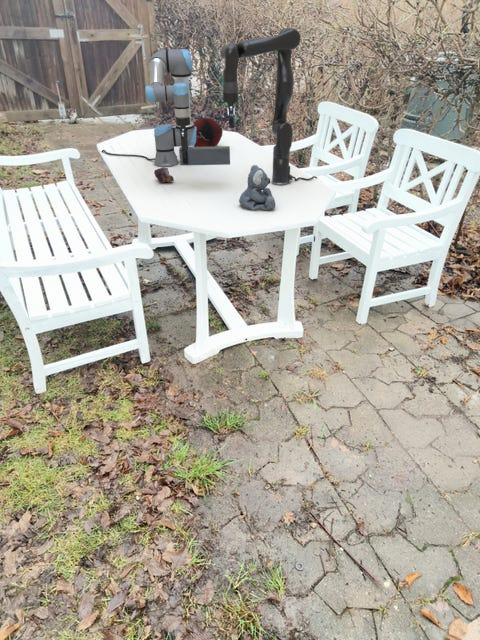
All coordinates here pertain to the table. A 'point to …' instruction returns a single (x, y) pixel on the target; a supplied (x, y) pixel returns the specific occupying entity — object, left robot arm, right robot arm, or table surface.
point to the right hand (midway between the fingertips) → (231, 126)
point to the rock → (163, 175)
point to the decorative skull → (207, 132)
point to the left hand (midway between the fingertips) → (186, 162)
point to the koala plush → (257, 191)
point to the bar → (207, 155)
